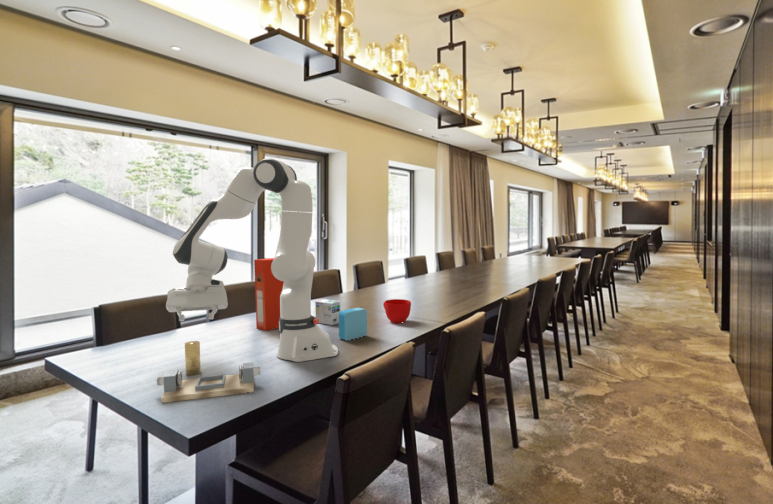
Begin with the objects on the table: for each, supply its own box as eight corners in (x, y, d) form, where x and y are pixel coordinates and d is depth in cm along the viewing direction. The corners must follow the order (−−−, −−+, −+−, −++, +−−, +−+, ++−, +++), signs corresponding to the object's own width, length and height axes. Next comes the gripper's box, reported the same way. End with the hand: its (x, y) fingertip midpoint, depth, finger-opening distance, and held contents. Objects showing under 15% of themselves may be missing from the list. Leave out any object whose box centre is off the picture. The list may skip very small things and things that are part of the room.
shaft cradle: (260, 376, 133) (259, 358, 133) (260, 391, 122) (260, 371, 121) (163, 387, 125) (162, 367, 124) (153, 403, 113) (152, 382, 113)
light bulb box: (341, 322, 203) (340, 300, 202) (332, 325, 197) (331, 303, 196) (324, 320, 208) (323, 298, 207) (315, 322, 203) (314, 300, 202)
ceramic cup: (393, 316, 216) (393, 297, 215) (416, 322, 203) (416, 302, 202) (374, 320, 208) (374, 300, 207) (396, 326, 195) (396, 305, 194)
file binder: (256, 328, 193) (254, 259, 190) (287, 321, 206) (285, 256, 203) (266, 331, 187) (264, 260, 185) (297, 323, 200) (296, 257, 198)
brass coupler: (201, 369, 139) (200, 340, 138) (199, 374, 135) (198, 344, 134) (187, 371, 138) (185, 341, 137) (184, 376, 134) (183, 345, 133)
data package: (360, 334, 182) (360, 307, 182) (367, 336, 179) (367, 308, 178) (338, 339, 174) (338, 311, 173) (345, 341, 171) (344, 312, 170)
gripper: (166, 283, 149) (161, 316, 141) (227, 281, 155) (226, 312, 147) (169, 293, 154) (165, 326, 145) (228, 291, 160) (227, 322, 151)
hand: (196, 319), depth 146 cm, fingers open, 8 cm apart
